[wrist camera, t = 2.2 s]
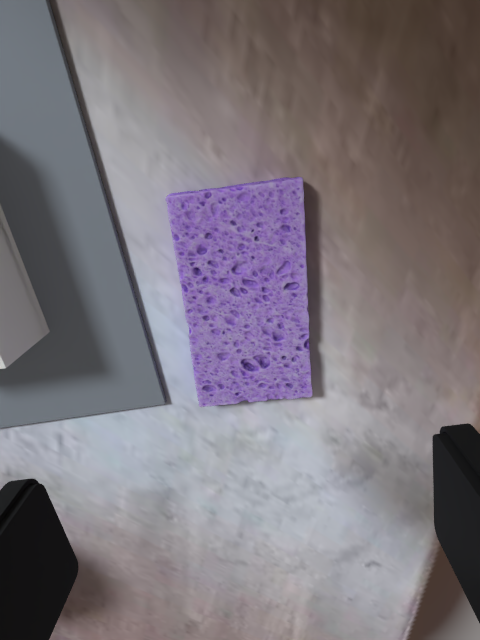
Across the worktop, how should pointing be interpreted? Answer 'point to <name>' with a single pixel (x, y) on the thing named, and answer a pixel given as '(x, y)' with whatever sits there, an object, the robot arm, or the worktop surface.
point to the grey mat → (63, 240)
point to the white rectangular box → (16, 302)
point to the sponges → (245, 289)
